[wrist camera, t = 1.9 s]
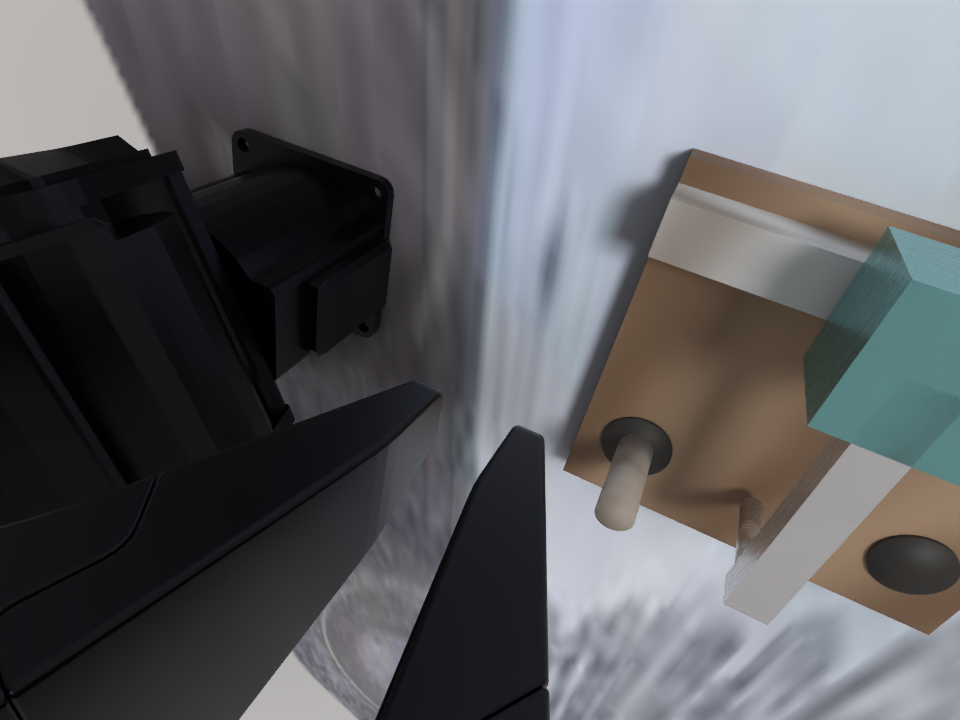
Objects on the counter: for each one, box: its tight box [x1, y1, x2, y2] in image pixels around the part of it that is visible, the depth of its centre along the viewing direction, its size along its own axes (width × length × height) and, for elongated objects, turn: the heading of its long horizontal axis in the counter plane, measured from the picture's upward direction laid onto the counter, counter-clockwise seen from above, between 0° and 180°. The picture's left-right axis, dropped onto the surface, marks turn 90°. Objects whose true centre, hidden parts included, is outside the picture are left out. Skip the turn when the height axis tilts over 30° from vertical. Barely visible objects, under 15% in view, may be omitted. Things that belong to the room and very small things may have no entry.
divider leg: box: [723, 226, 960, 625], centre depth 15 cm, size 3×10×4 cm, turn 168°
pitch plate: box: [563, 149, 960, 635], centre depth 17 cm, size 13×12×4 cm
